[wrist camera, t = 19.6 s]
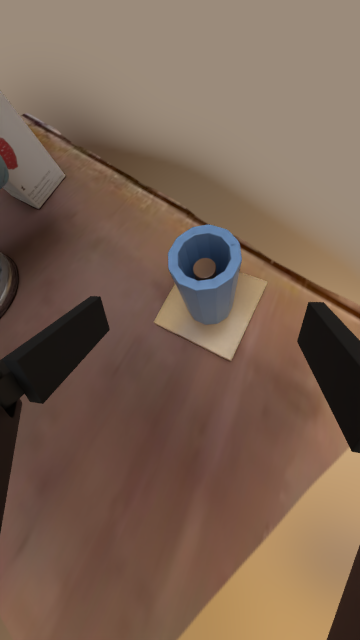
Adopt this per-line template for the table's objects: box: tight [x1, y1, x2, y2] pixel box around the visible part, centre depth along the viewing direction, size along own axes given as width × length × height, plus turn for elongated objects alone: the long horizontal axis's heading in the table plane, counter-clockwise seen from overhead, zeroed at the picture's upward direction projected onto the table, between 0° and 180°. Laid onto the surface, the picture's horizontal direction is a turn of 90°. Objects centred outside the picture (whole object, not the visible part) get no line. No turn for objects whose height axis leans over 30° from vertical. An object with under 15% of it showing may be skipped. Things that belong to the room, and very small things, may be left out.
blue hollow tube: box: [168, 224, 242, 325], centre depth 21 cm, size 6×6×11 cm
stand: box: [154, 258, 268, 361], centre depth 22 cm, size 11×11×11 cm
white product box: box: [0, 90, 66, 209], centre depth 33 cm, size 9×9×15 cm
